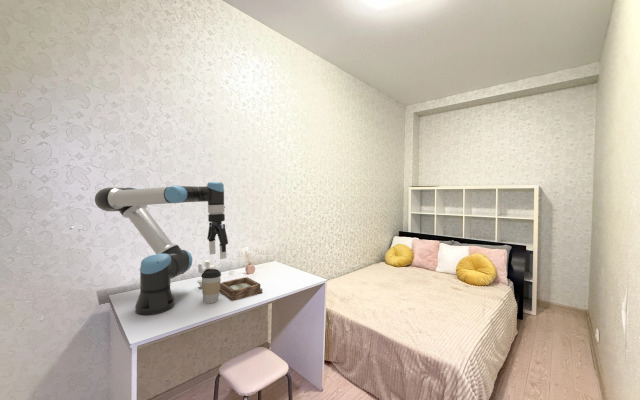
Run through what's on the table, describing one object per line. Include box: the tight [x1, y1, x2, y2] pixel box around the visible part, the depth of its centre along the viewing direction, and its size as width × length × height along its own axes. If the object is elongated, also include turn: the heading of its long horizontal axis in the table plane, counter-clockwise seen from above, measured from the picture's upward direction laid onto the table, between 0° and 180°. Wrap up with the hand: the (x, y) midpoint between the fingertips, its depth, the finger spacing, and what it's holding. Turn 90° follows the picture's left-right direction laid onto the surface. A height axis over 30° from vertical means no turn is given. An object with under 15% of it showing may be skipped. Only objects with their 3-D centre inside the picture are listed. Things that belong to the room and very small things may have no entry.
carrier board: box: [219, 276, 263, 302], centre depth 141 cm, size 17×17×4 cm
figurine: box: [196, 259, 216, 289], centre depth 146 cm, size 7×9×15 cm
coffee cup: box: [200, 268, 222, 304], centre depth 129 cm, size 9×9×15 cm
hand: (217, 256), depth 130 cm, fingers open, 13 cm apart
